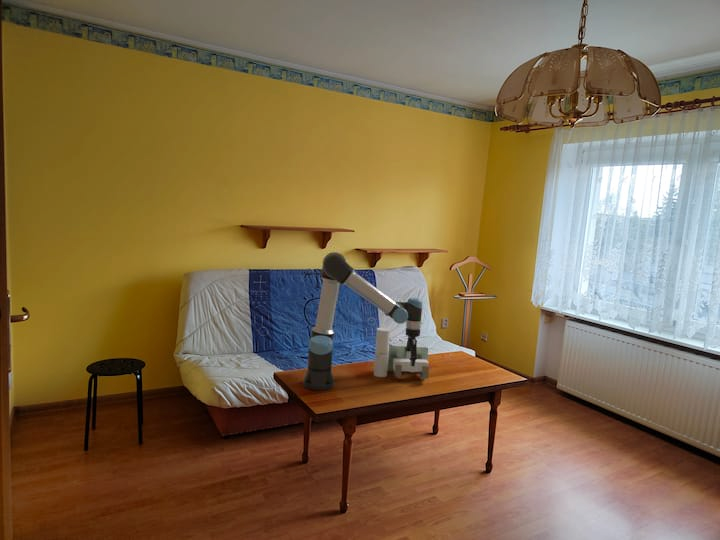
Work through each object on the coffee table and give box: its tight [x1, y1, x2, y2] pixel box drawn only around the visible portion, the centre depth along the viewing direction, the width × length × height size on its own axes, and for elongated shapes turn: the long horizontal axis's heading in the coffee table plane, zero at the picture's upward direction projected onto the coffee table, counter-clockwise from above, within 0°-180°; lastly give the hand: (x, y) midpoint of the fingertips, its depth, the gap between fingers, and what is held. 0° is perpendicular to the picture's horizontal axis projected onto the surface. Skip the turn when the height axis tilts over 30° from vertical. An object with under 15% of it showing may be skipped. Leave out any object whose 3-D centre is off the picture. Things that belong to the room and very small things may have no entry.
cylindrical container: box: [373, 327, 391, 378], centre depth 247 cm, size 7×7×25 cm
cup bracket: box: [387, 345, 430, 381], centre depth 247 cm, size 22×19×14 cm
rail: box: [393, 358, 430, 373], centre depth 245 cm, size 18×5×5 cm, turn 95°
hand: (410, 367), depth 245 cm, fingers open, 13 cm apart
